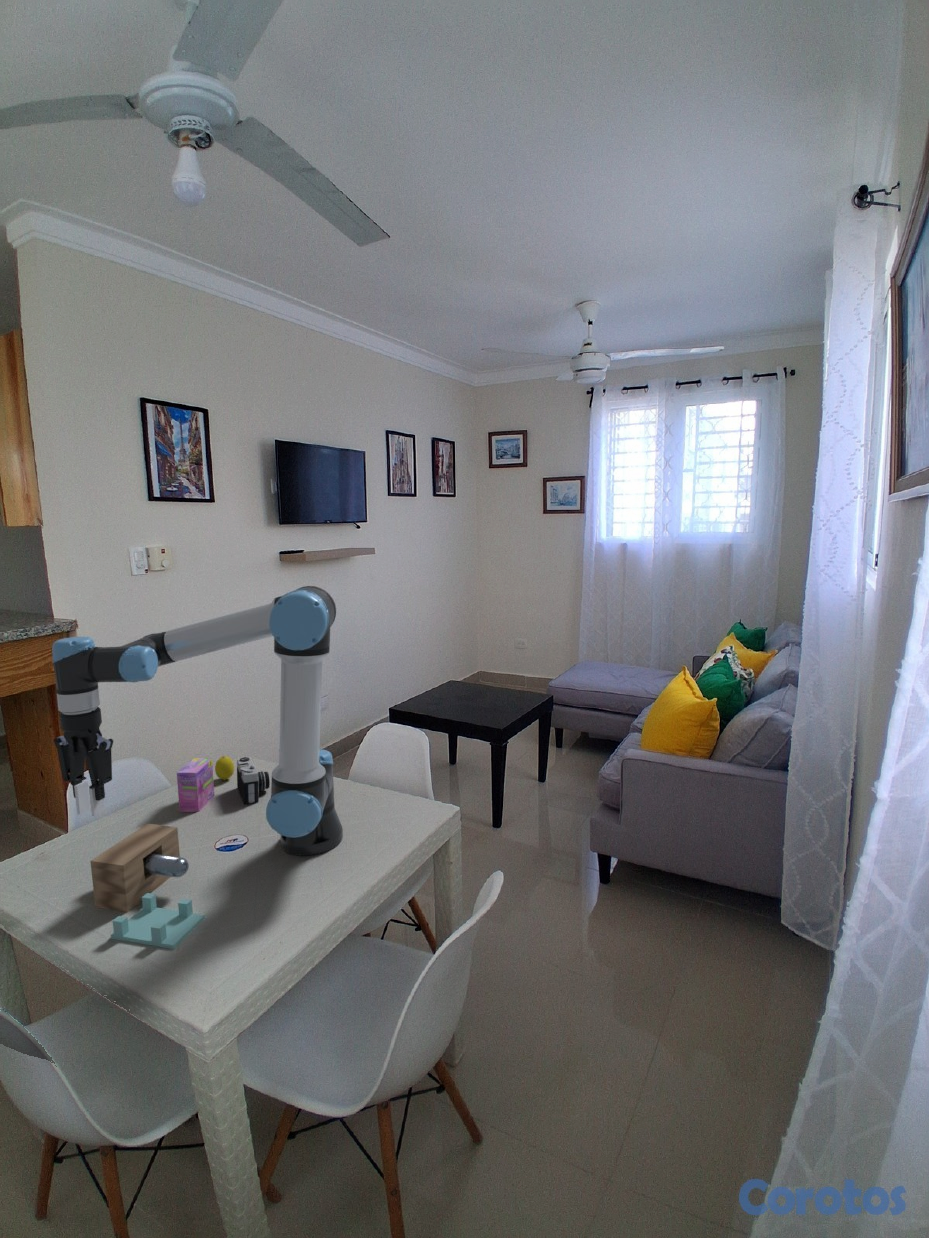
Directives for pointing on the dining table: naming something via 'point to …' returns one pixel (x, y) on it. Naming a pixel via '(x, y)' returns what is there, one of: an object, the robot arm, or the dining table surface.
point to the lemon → (224, 768)
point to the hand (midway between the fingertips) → (91, 811)
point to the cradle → (157, 924)
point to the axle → (165, 865)
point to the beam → (131, 867)
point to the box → (195, 785)
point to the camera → (250, 781)
